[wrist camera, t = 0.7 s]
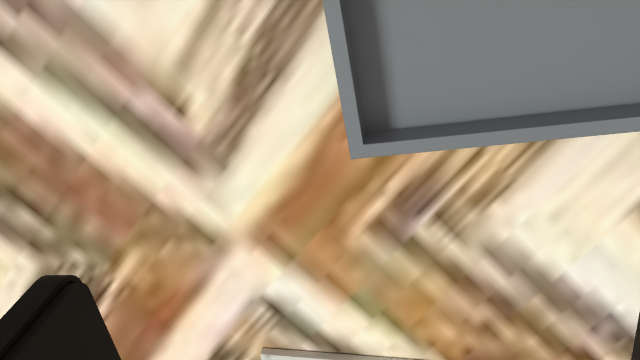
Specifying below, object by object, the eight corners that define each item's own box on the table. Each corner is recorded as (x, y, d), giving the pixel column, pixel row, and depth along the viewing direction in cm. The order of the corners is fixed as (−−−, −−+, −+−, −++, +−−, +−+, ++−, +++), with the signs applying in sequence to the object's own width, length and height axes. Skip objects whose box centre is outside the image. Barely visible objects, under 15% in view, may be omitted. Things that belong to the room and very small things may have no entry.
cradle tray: (354, 141, 41) (350, 159, 38) (320, -61, 34) (313, -55, 32) (721, 103, 35) (743, 121, 33) (765, -145, 29) (796, -145, 26)
